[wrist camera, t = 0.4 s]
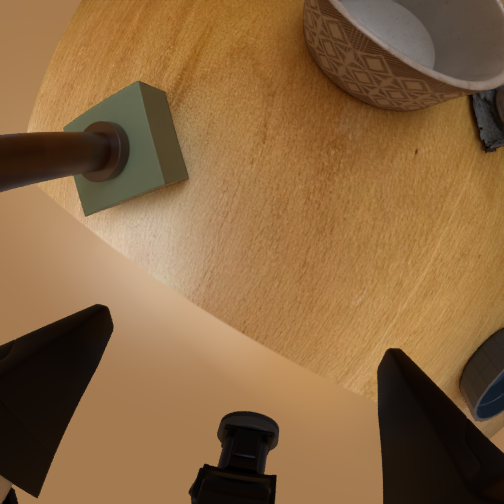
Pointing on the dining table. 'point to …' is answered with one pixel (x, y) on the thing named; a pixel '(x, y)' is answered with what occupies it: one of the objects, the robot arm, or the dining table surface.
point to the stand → (134, 147)
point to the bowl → (485, 379)
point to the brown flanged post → (63, 155)
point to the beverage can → (490, 117)
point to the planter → (407, 48)
